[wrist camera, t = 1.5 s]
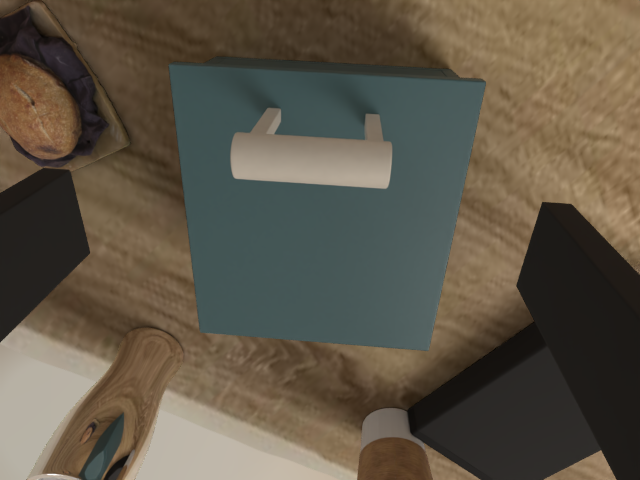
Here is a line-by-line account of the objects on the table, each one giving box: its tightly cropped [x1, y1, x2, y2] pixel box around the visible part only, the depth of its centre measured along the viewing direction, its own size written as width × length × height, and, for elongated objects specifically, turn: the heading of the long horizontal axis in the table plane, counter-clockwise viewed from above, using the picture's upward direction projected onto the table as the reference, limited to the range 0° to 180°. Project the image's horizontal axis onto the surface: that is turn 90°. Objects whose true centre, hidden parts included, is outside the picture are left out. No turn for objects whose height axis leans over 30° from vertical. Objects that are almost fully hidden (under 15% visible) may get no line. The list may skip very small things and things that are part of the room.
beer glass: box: [26, 327, 184, 480], centre depth 38 cm, size 7×7×15 cm
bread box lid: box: [169, 62, 486, 351], centre depth 24 cm, size 17×16×8 cm
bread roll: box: [0, 0, 131, 172], centre depth 31 cm, size 11×8×4 cm
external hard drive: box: [408, 322, 601, 480], centre depth 41 cm, size 14×23×3 cm, turn 141°
